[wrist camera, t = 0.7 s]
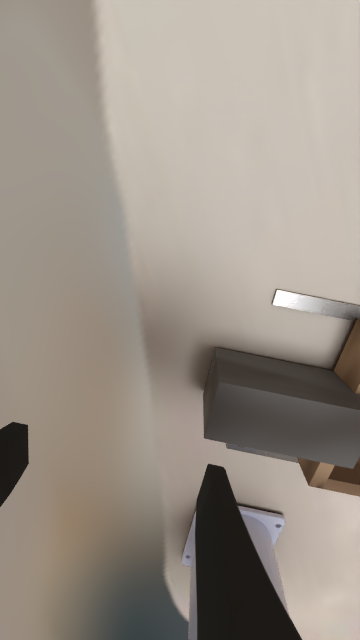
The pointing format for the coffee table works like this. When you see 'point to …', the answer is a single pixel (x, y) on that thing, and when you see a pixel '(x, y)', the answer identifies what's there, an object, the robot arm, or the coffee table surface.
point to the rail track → (308, 305)
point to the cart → (291, 411)
